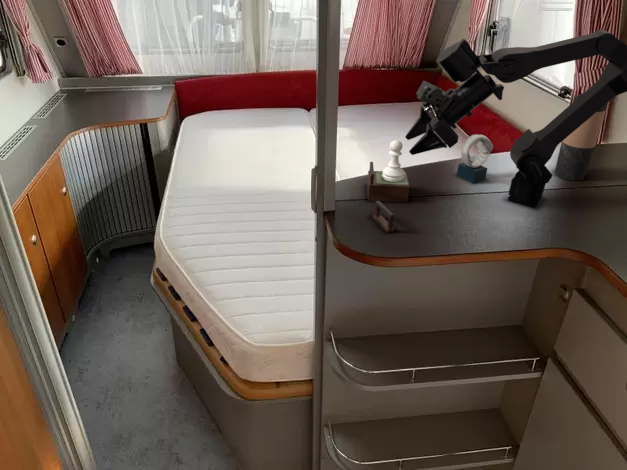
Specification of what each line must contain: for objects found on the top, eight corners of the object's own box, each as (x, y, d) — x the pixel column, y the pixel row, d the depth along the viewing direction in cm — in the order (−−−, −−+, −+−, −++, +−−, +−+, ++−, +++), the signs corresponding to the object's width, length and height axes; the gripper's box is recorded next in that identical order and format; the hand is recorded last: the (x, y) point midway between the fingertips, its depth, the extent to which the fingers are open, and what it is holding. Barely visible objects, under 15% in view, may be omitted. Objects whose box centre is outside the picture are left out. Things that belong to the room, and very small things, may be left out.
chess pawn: (408, 179, 121) (412, 142, 116) (390, 183, 119) (394, 145, 114) (395, 171, 125) (399, 135, 120) (377, 175, 123) (380, 138, 118)
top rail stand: (404, 187, 127) (407, 162, 124) (407, 202, 120) (410, 176, 117) (367, 185, 128) (368, 160, 124) (367, 200, 121) (369, 174, 117)
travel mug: (588, 182, 132) (613, 103, 122) (556, 179, 133) (578, 100, 123) (581, 170, 138) (604, 94, 128) (551, 167, 140) (571, 91, 129)
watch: (490, 178, 133) (499, 136, 127) (467, 184, 129) (475, 142, 124) (474, 170, 137) (481, 129, 131) (451, 176, 133) (458, 134, 128)
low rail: (372, 217, 114) (374, 201, 112) (379, 216, 114) (380, 200, 112) (387, 232, 108) (388, 215, 106) (394, 231, 109) (396, 214, 107)
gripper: (436, 59, 117) (382, 107, 123) (450, 80, 101) (387, 134, 107) (466, 96, 121) (412, 140, 127) (484, 122, 105) (422, 171, 111)
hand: (408, 145), depth 118 cm, fingers open, 9 cm apart
